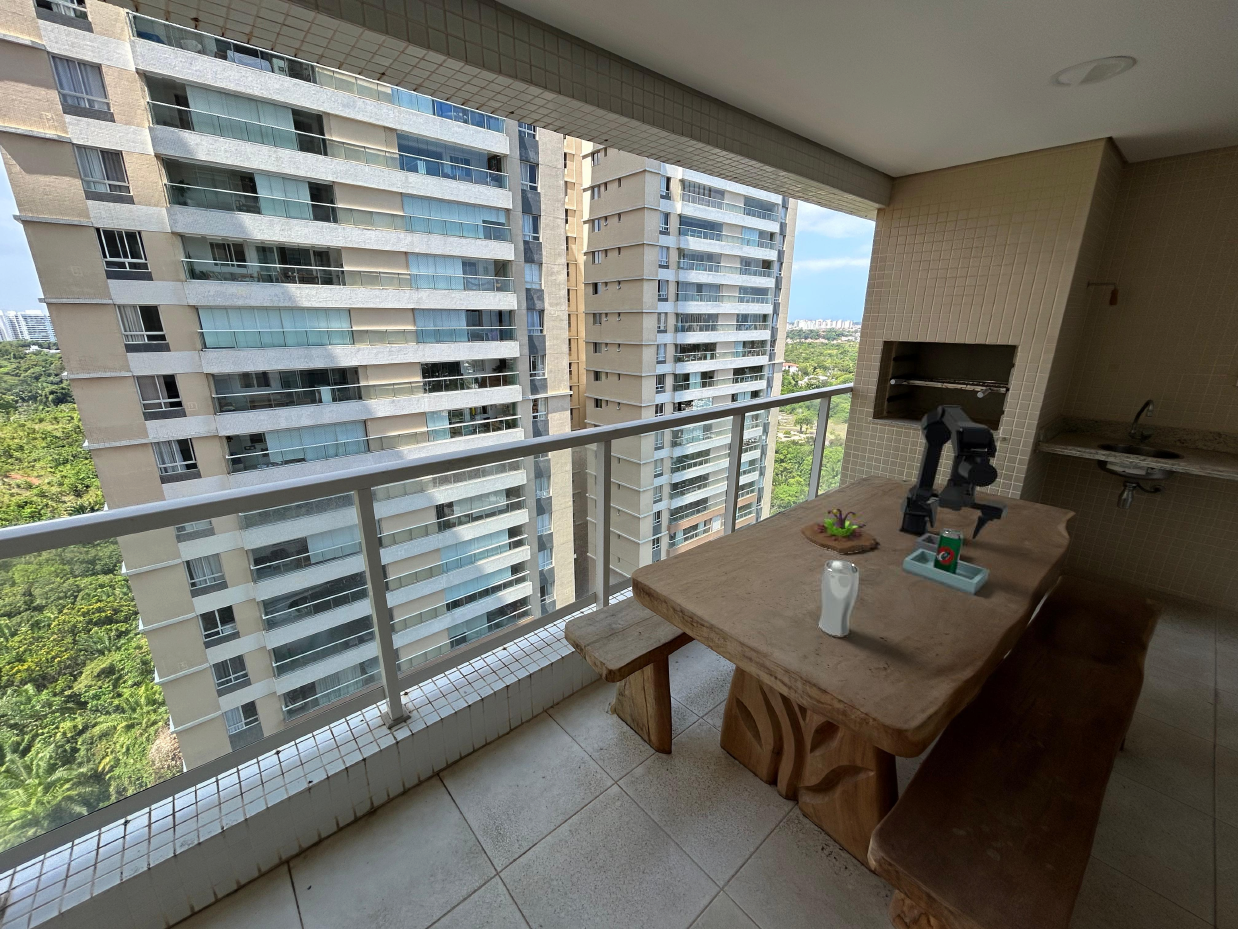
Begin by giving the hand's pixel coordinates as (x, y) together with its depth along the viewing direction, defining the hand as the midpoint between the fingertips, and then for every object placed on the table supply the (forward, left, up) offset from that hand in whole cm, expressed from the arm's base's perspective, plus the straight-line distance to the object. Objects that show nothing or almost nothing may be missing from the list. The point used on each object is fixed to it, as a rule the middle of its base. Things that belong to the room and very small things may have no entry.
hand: (952, 533), depth 118 cm
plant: (-29, 0, -13) cm, 32 cm away
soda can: (0, 0, -12) cm, 12 cm away
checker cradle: (-6, +13, -12) cm, 19 cm away
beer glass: (-6, -46, -13) cm, 48 cm away
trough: (0, 0, -12) cm, 12 cm away
